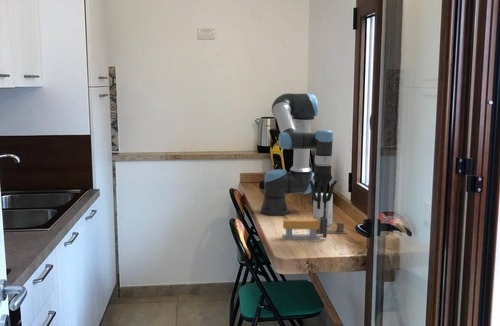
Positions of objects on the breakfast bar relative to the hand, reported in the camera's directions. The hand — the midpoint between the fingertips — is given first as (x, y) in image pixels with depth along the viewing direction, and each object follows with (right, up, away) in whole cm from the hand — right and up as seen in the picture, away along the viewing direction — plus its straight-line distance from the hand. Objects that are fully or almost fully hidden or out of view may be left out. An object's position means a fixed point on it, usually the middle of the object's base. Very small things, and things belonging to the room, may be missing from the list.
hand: (321, 216), depth 234 cm
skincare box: (+4, -7, +25) cm, 26 cm away
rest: (+5, -9, +11) cm, 15 cm away
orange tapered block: (-9, -5, 0) cm, 10 cm away
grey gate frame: (+1, -10, +2) cm, 10 cm away
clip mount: (-9, -10, +1) cm, 13 cm away
